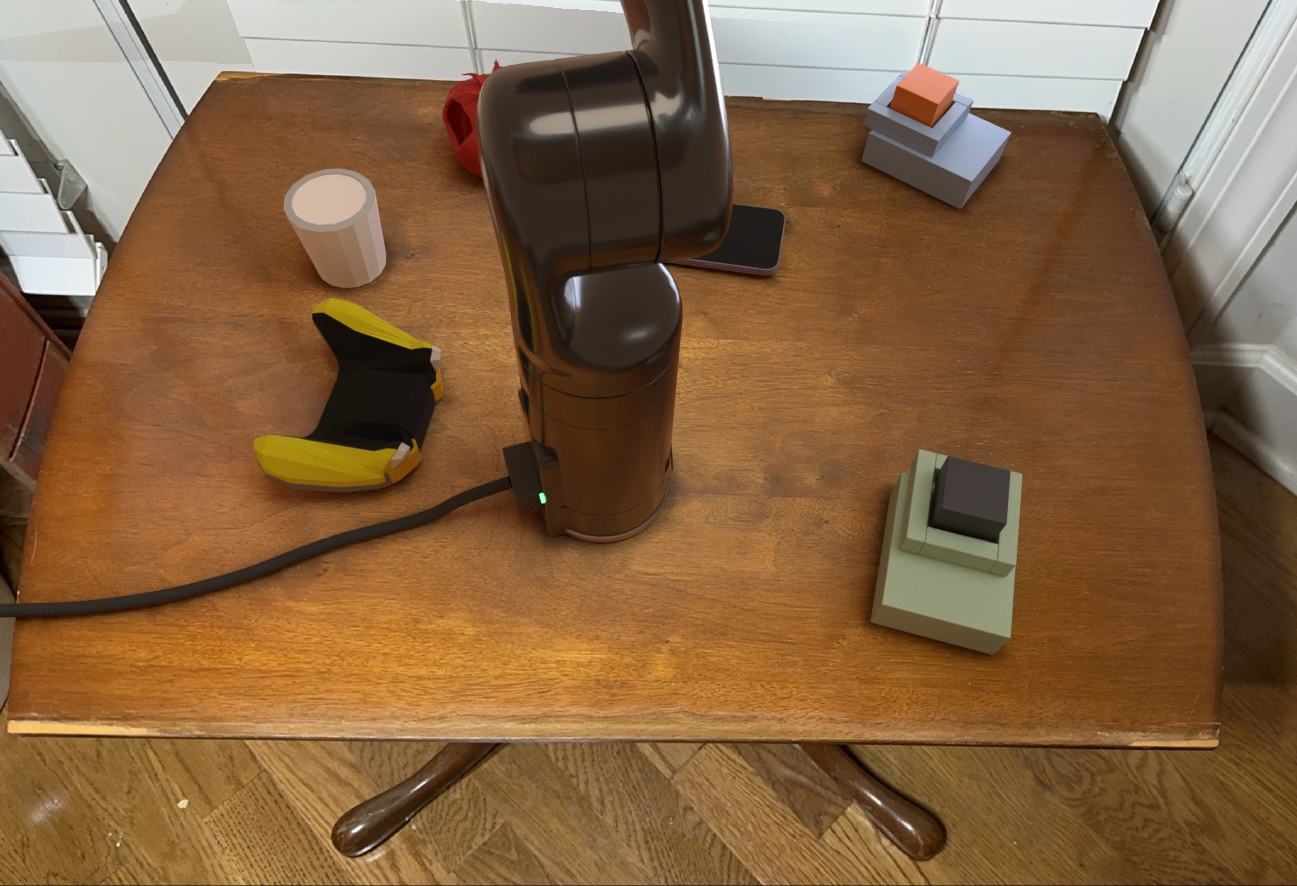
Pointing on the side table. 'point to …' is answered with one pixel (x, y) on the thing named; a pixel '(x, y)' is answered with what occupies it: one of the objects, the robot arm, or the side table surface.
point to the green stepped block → (944, 568)
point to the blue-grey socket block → (933, 147)
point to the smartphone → (747, 242)
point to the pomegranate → (465, 119)
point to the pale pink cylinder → (338, 225)
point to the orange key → (924, 94)
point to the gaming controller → (361, 408)
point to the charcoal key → (971, 498)
